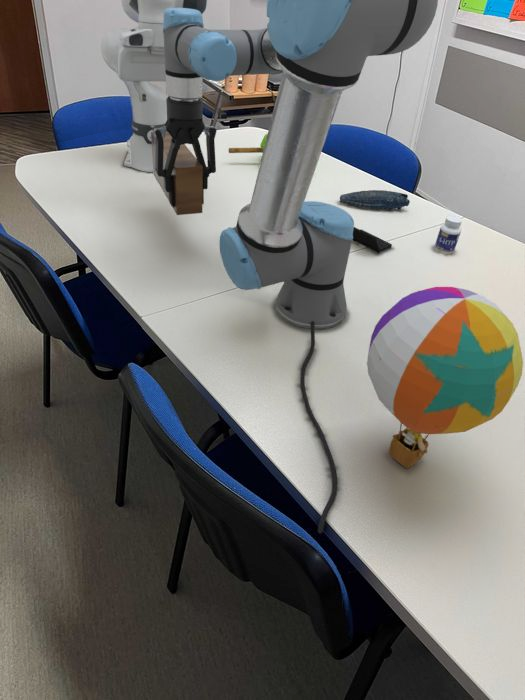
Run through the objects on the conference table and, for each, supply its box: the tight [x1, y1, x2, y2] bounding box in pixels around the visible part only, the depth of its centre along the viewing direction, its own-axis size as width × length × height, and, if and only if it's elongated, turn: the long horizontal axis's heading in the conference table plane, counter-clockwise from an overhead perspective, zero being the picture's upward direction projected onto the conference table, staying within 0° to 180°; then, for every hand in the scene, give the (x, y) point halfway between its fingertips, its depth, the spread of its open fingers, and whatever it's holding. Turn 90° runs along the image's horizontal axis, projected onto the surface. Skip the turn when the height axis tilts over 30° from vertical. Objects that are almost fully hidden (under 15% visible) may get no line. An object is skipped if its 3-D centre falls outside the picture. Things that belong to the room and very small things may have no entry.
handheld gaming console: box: [352, 226, 393, 254], centre depth 138 cm, size 12×7×10 cm
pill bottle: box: [434, 215, 463, 255], centre depth 137 cm, size 5×5×9 cm
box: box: [151, 132, 204, 216], centre depth 127 cm, size 26×6×11 cm, turn 21°
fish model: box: [339, 189, 411, 211], centre depth 158 cm, size 7×21×5 cm, turn 84°
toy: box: [366, 286, 524, 469], centre depth 73 cm, size 20×20×30 cm
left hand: (161, 101), depth 129 cm, fingers open, 8 cm apart
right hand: (186, 203), depth 122 cm, fingers closed on box, 6 cm apart
